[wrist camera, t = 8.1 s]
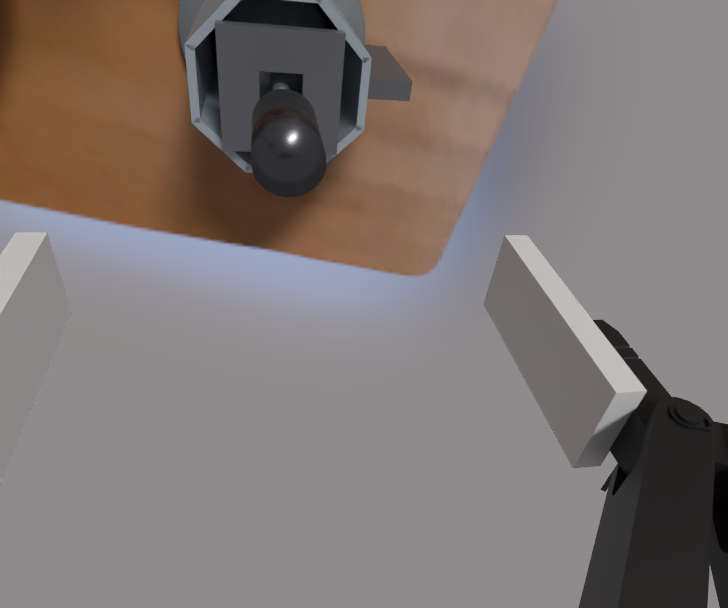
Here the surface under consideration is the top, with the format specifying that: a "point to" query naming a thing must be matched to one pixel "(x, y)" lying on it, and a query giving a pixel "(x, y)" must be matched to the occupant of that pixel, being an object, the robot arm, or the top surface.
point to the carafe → (284, 55)
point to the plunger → (283, 109)
